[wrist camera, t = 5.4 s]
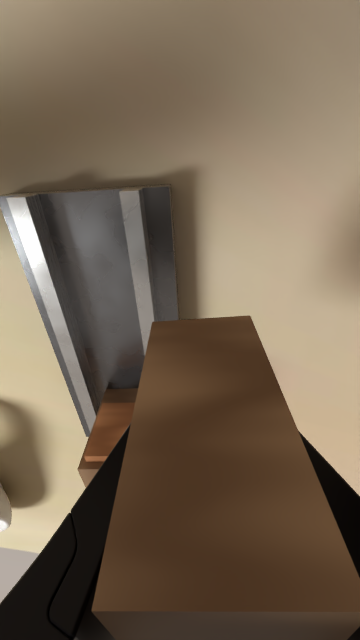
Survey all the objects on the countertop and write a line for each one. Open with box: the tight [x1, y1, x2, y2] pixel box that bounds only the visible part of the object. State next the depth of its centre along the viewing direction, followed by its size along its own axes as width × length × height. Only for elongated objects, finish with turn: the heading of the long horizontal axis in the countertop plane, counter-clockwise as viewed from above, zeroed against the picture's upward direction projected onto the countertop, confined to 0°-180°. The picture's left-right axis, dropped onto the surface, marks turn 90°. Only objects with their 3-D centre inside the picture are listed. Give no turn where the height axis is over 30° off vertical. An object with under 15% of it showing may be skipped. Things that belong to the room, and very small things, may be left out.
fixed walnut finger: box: [78, 388, 138, 487], centre depth 21 cm, size 3×6×7 cm, turn 3°
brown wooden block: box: [92, 316, 360, 640], centre depth 8 cm, size 3×6×7 cm, turn 5°
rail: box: [0, 184, 179, 437], centre depth 21 cm, size 10×22×3 cm, turn 3°
